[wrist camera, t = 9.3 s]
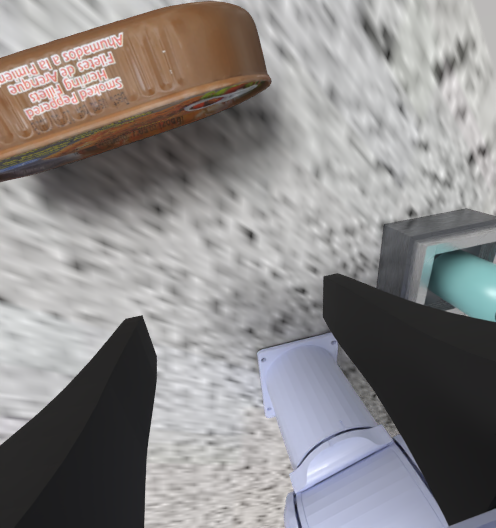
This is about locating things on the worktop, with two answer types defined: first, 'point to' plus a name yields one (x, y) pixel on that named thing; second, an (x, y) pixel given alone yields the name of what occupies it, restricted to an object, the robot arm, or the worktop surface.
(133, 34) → the tin
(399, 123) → the worktop surface
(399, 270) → the grey flat square block
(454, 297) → the teal capped cylinder
